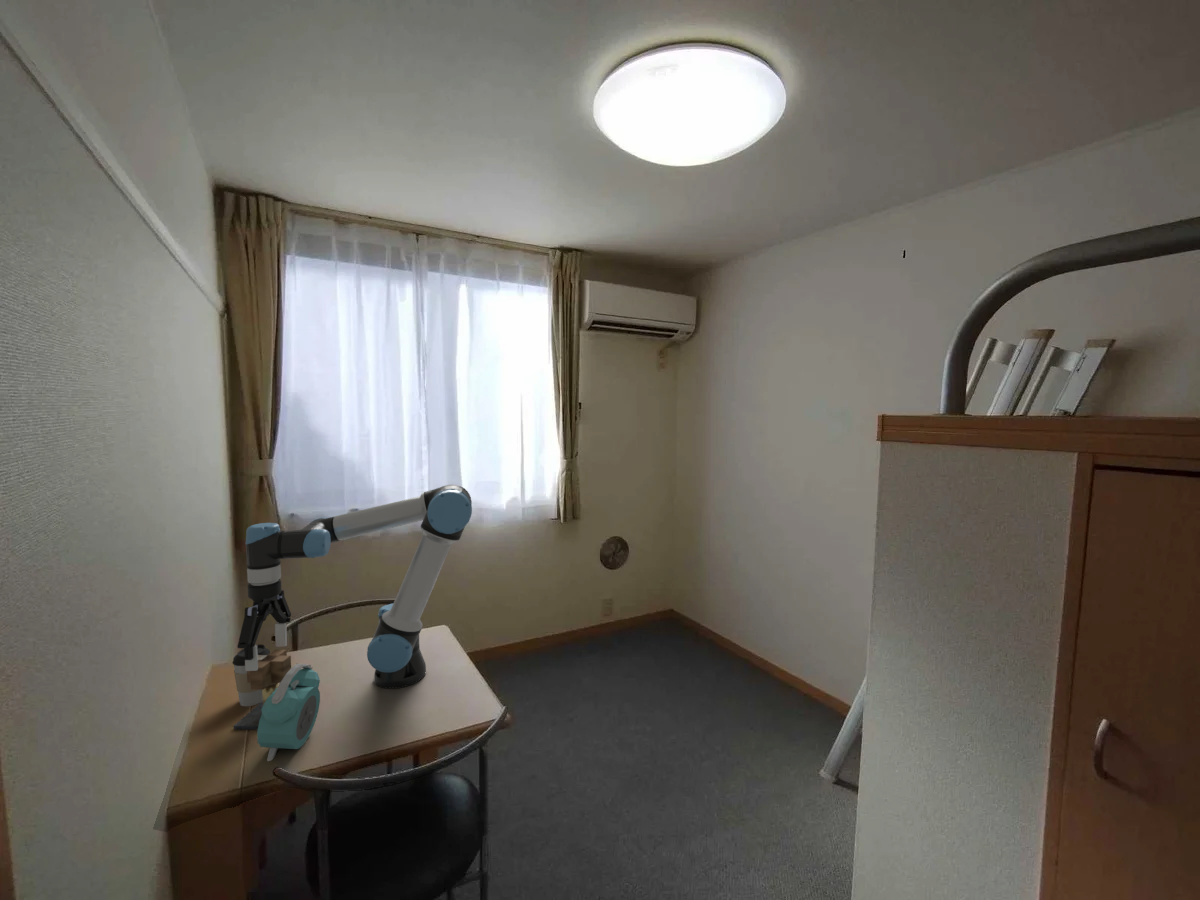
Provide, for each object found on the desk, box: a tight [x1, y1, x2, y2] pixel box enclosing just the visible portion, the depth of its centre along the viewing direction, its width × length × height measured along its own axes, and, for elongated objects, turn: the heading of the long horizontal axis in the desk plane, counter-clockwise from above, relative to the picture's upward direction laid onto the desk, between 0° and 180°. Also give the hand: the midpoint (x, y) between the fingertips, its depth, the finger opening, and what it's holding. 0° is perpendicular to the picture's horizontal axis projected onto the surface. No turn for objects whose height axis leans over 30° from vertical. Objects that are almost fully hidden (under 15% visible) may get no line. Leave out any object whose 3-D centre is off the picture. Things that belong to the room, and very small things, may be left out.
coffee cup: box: [232, 643, 271, 707], centre depth 143 cm, size 9×9×15 cm
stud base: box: [232, 683, 279, 731], centre depth 136 cm, size 12×12×9 cm
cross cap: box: [247, 649, 292, 690], centre depth 135 cm, size 10×10×7 cm
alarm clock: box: [256, 663, 321, 762], centre depth 124 cm, size 17×10×20 cm, turn 5°
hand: (267, 657), depth 135 cm, fingers open, 13 cm apart
